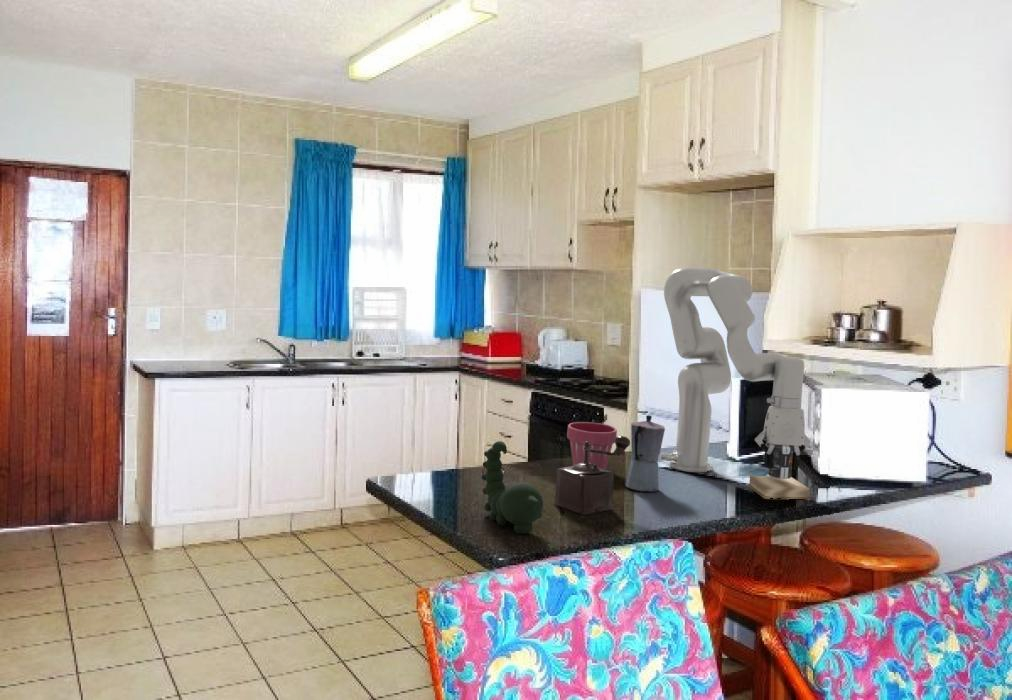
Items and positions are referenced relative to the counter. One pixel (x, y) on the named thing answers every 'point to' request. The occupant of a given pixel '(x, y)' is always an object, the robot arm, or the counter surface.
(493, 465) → the toy figurine
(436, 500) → the counter surface
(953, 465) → the counter surface
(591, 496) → the coffee grinder
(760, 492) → the base
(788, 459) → the pill bottle
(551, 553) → the counter surface
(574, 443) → the plant pot
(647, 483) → the moka pot
